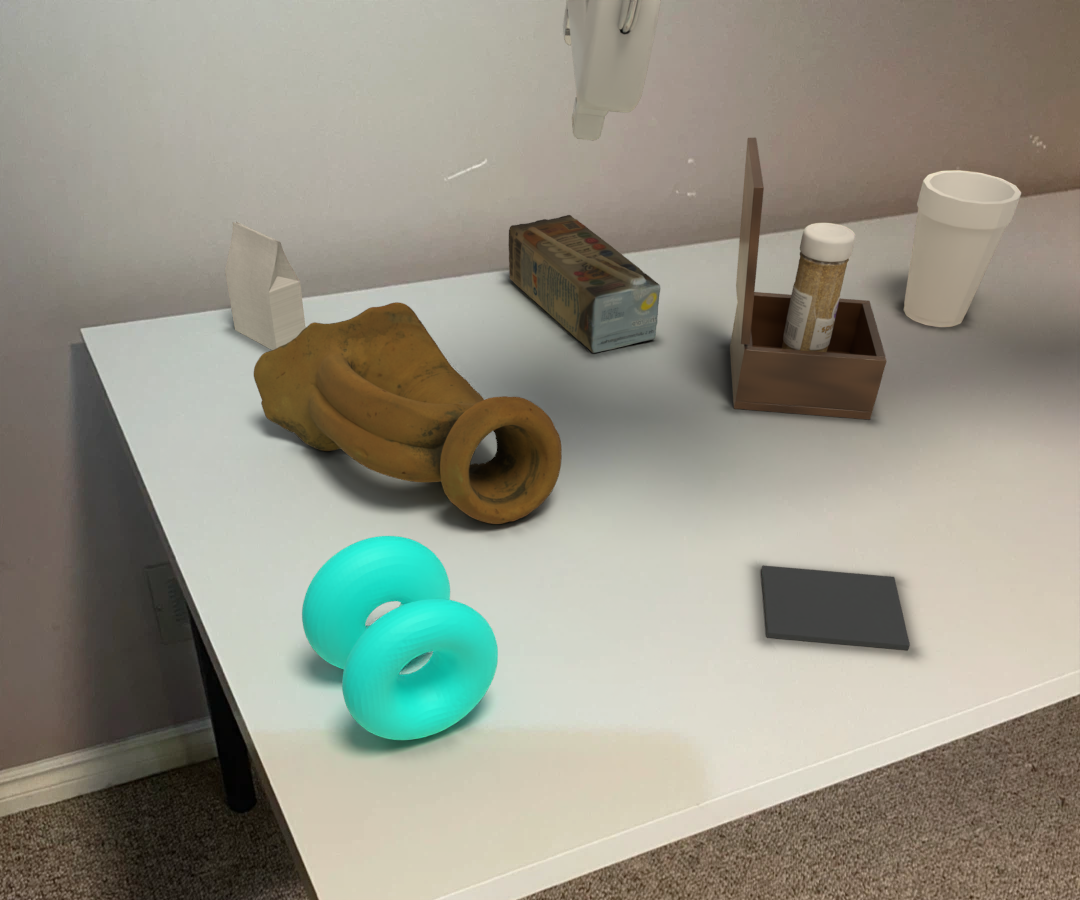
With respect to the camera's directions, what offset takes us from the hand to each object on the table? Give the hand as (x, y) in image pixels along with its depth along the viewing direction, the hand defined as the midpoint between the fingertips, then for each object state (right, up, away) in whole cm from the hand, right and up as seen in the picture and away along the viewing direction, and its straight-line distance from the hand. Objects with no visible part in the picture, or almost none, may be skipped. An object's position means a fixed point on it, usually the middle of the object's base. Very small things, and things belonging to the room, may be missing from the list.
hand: (579, 84), depth 70 cm
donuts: (-12, -40, +1) cm, 42 cm away
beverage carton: (+2, +1, +43) cm, 43 cm away
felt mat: (+19, -33, +9) cm, 39 cm away
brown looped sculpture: (-14, -21, +20) cm, 32 cm away
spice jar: (+22, -8, +33) cm, 41 cm away
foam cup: (+40, +2, +46) cm, 61 cm away
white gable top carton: (-29, -3, +37) cm, 47 cm away
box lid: (+16, +1, +25) cm, 30 cm away
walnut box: (+22, -9, +34) cm, 41 cm away
